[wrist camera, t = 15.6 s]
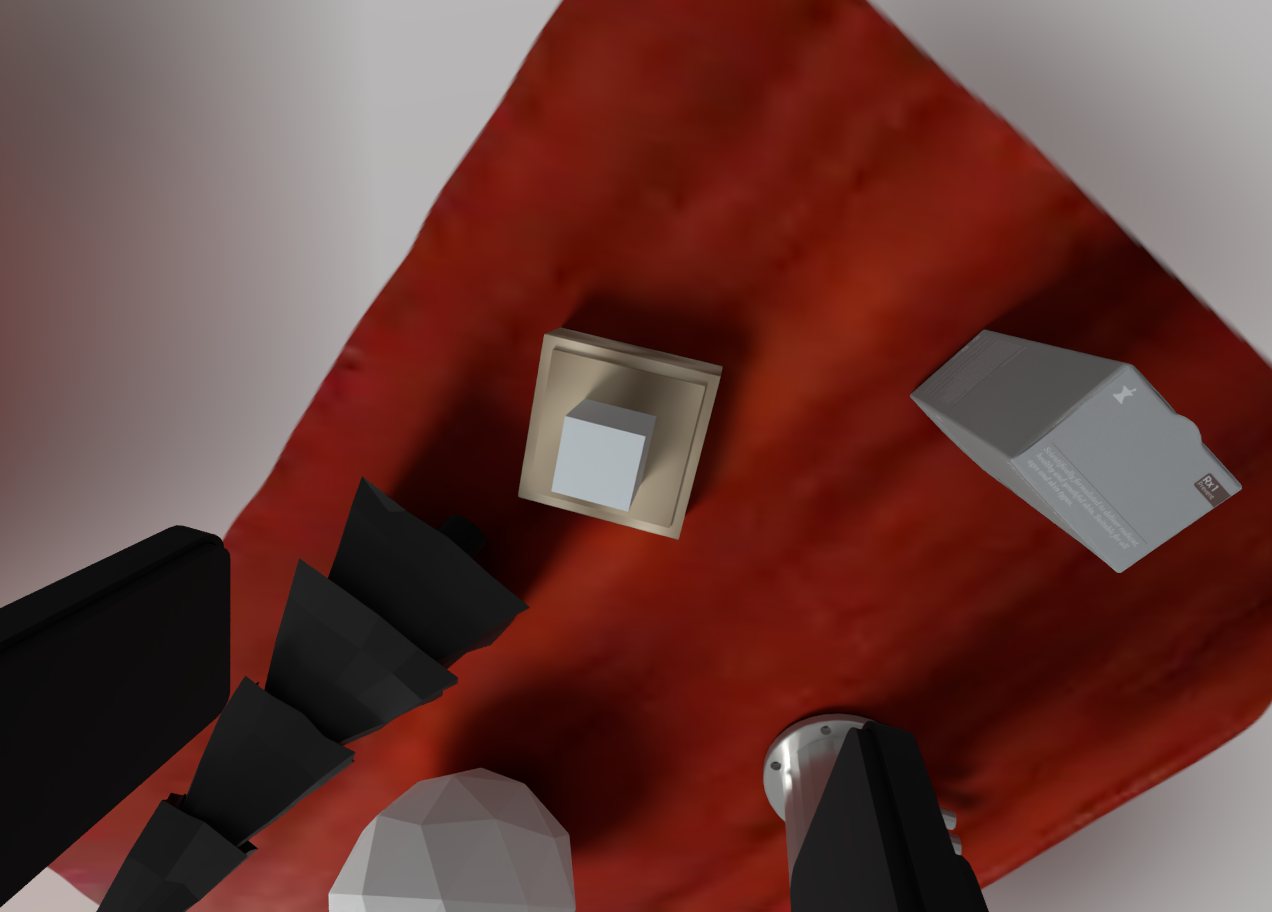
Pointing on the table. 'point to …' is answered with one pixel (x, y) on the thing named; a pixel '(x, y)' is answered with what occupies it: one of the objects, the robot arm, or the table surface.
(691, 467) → the plinth
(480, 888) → the geometric sculpture
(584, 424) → the block
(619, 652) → the table surface
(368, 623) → the decorative tree
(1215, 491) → the skincare box
